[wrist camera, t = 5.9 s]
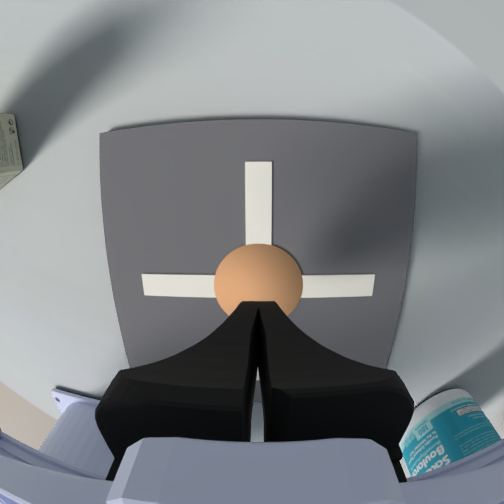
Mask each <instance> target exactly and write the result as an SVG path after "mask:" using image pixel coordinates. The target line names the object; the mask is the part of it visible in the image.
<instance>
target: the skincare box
mask: <svg viewBox="0 0 504 504" xmlns="http://www.w3.org/2000/svg"><path fill="white" fill-rule="evenodd" d="M22 170H23V165H22V160H21V155H20V148H19V142H18V136H17V129H16V123H15V116H14V114H5V113H0V189H1V188H2V187H3V186H4V185H6V184H7V183H8V182H9V181H10V180H12V179H13V178H14V177H15V176H16V175H17V174H19V173H20V172H21V171H22Z"/></svg>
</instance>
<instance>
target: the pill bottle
mask: <svg viewBox="0 0 504 504" xmlns="http://www.w3.org/2000/svg"><path fill="white" fill-rule="evenodd" d="M500 440H502V439H501V438H500V436H499V435H498V433H497V432H496V430H495V429H494V427H493V426H492V424H491V423H490V421H489V420H488V419H487V417H486V416H485V414H484V413H483V411H482V410H481V409H480V407H479V406H478V404H477V403H476V402H475V400H474V399H473V398H472V396H471V395H470V394H469V393H468V392H467V391H465V390H463V389H450V390H447V391H444V392H441V393H439V394H437V395H435V396H433V397H431V398H430V399H428V400H426V401H425V402H423V403H422V404H421V405H419V406H418V407H417V408H416V409H415V410H414V413H413V416H412V419H411V421H410V423H409V426H408V428H407V430H406V431H405V433H404V435H403V437H402V439H401V441H400V443H399V446H400V448H401V451H402V453H403V457H404V459H405V462H406V464H407V467H408V469H409V472H410V475H411V477H413V476H416V475H419V474H423V473H426V472H429V471H431V470H434V469H437V468H440V467H443V466H445V465H448V464H450V463H453V462H455V461H458V460H460V459H463V458H465V457H467V456H470V455H472V454H474V453H476V452H478V451H480V450H483V449H485V448H487V447H489V446H491V445H493V444H495V443H497V442H498V441H500Z"/></svg>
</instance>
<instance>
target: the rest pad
mask: <svg viewBox="0 0 504 504" xmlns="http://www.w3.org/2000/svg"><path fill="white" fill-rule="evenodd" d="M416 167H417V136H416V133H413V132H407V131H401V130H395V129H389V128H382V127H374V126H366V125H357V124H348V123H337V122H324V121H308V120H283V119H235V120H210V121H194V122H181V123H170V124H160V125H152V126H143V127H136V128H129V129H122V130H116V131H110V132H104V133H100V182H101V200H102V213H103V224H104V234H105V243H106V251H107V258H108V265H109V272H110V278H111V284H112V290H113V296H114V301H115V306H116V311H117V316H118V321H119V325H120V330H121V334H122V338H123V343H124V347H125V351H126V355H127V358H128V362H129V366H130V368H134V367H138V366H142V365H147V364H150V363H154V362H157V361H160V360H163V359H165V358H168V357H170V356H173V355H175V354H177V353H179V352H181V351H183V350H185V349H187V348H189V347H191V346H193V345H195V344H197V343H198V342H200V341H201V340H203V339H204V338H206V337H207V336H208V335H210V334H211V333H212V332H213V331H214V330H215V329H217V328H218V327H219V326H220V325H221V324H222V323H223V322H224V321H225V320H226V319H227V318H228V317H229V316H230V314H231V313H232V312H233V311H234V310H235V309H236V307H237V306H238V305H239V303H240V302H242V301H275V302H276V303H277V304H278V305H279V307H280V308H281V309H282V310H283V312H284V313H285V314H286V315H287V316H288V318H289V319H290V320H291V321H292V322H293V323H294V324H295V325H296V326H297V327H298V328H299V329H301V330H302V331H303V332H304V333H305V334H306V335H308V336H309V337H310V338H312V339H313V340H315V341H316V342H318V343H319V344H321V345H322V346H324V347H326V348H328V349H330V350H332V351H334V352H336V353H338V354H340V355H342V356H344V357H347V358H349V359H352V360H355V361H357V362H360V363H363V364H366V365H370V366H374V367H379V368H383V369H386V366H387V362H388V358H389V355H390V351H391V347H392V343H393V339H394V335H395V331H396V327H397V322H398V318H399V313H400V308H401V303H402V298H403V293H404V288H405V282H406V276H407V270H408V263H409V256H410V248H411V240H412V231H413V221H414V209H415V193H416ZM253 402H262V397H261V389H260V381H259V372H258V371H257V378H256V386H255V393H254V400H253Z"/></svg>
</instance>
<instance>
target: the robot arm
mask: <svg viewBox="0 0 504 504" xmlns="http://www.w3.org/2000/svg"><path fill="white" fill-rule="evenodd" d="M257 371H258V372H259V381H260V389H261V397H262V406H263V416H264V442H250V439H251V416H252V407H253V400H254V393H255V386H256V378H257ZM51 394H52V396H53V398H54V400H55V402H56V404H57V406H58V408H59V410H60V412H61V414H62V415H61V417H60V418H59V420H58V421H57V423H56V424H55V426H54V427H53V429H52V430H51V432H50V433H49V435H48V436H47V438H46V439H45V441H44V442H43V444H42V446H41V447H40V449H39V450H36V449H34V448H32V447H29V446H28V445H26V444H24V443H22V442H20V441H18V440H16V439H14V438H12V437H10V436H9V435H7V434H5V433H3V432H2V431H1V429H0V504H504V439H502V440H500V441H498V442H497V443H495V444H493V445H491V446H489V447H487V448H485V449H483V450H480V451H478V452H476V453H474V454H472V455H470V456H467V457H465V458H463V459H460V460H458V461H455V462H453V463H450V464H448V465H445V466H443V467H440V468H437V469H434V470H431V471H429V472H426V473H423V474H419V475H416V476H413V477H410V478H406V477H405V474H404V471H403V469H402V466H401V464H400V461H399V460H401V459H402V457H403V453H402V451H401V448H400V446H399V443H400V441H401V439H402V437H403V435H404V433H405V431H406V430H407V428H408V426H409V423H410V421H411V419H412V416H413V413H414V401H413V399H412V397H411V396H410V394H409V392H408V390H407V388H406V386H405V384H404V383H403V381H402V380H401V378H400V377H399V376H398V374H397V373H396V371H392V370H388V369H383V368H379V367H374V366H370V365H366V364H363V363H360V362H357V361H355V360H352V359H349V358H347V357H344V356H342V355H340V354H338V353H336V352H334V351H332V350H330V349H328V348H326V347H324V346H322V345H321V344H319V343H318V342H316V341H315V340H313V339H312V338H310V337H309V336H308V335H306V334H305V333H304V332H303V331H302V330H301V329H299V328H298V327H297V326H296V325H295V324H294V323H293V322H292V321H291V320H290V319H289V318H288V316H287V315H286V314H285V313H284V312H283V310H282V309H281V308H280V307H279V305H278V304H277V303H276V302H275V301H242V302H240V303H239V305H238V306H237V307H236V309H235V310H234V311H233V312H232V313H231V314H230V316H229V317H228V318H227V319H226V320H225V321H224V322H223V323H222V324H221V325H220V326H219V327H218V328H217V329H215V330H214V331H213V332H212V333H211V334H210V335H208V336H207V337H206V338H204V339H203V340H201V341H200V342H198V343H197V344H195V345H193V346H191V347H189V348H187V349H185V350H183V351H181V352H179V353H177V354H175V355H173V356H170V357H168V358H165V359H163V360H160V361H157V362H154V363H150V364H147V365H142V366H138V367H134V368H129V369H124V370H120V371H119V372H118V374H117V375H116V376H115V378H114V379H113V380H112V382H111V384H110V385H109V387H108V389H107V390H106V392H105V394H104V395H103V397H102V399H101V400H96V399H92V398H88V397H84V396H80V395H76V394H73V393H69V392H65V391H62V390H59V389H55V388H53V389H52V391H51Z"/></svg>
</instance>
